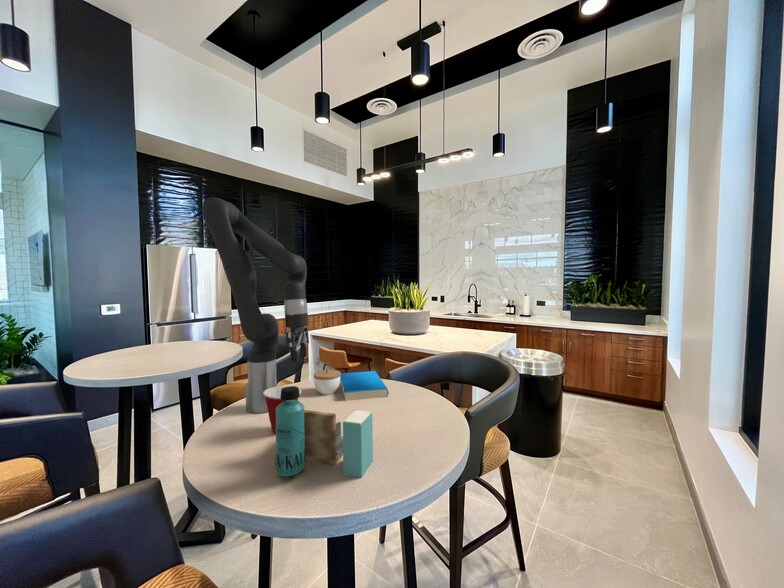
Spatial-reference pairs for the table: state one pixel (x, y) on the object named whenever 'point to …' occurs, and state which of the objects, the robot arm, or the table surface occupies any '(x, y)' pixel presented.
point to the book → (362, 385)
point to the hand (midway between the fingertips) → (299, 359)
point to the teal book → (357, 443)
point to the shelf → (322, 437)
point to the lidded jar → (327, 381)
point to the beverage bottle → (290, 433)
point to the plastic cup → (274, 403)
